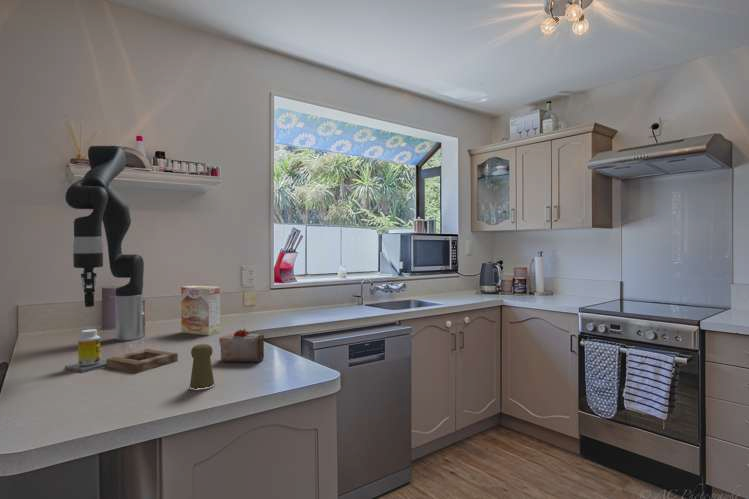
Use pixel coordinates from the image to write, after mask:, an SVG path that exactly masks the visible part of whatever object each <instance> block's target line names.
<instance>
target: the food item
mask: <svg viewBox="0 0 749 499" xmlns="http://www.w3.org/2000/svg"><path fill="white" fill-rule="evenodd" d="M218 342H219V346H220V362H221V363H260V362H262V361H261V360H262V359H263V358H264V359H265V351H264V350H265V346H264V345H265V344H264V343H265V336H264V334H261V333H249V331H247V330H246V328H244V329H239V330H238V329H237V331H235V333H230V334H223V335H221V336H220V337H219V340H218ZM264 359H263V360H264ZM259 361H260V362H259Z"/></svg>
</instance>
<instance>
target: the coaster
mask: <svg viewBox="0 0 749 499" xmlns="http://www.w3.org/2000/svg"><path fill="white" fill-rule="evenodd" d="M105 367H106V359H105V360H104V359H100V362H99V363H97V364H94V365H89V366H81V365H79V362H75V363H72V364H67V365H65V366H64V369H66V370H70V371H74V372H79V373H87V372H91V371H93V370H97V369H101V368H105ZM106 368H107V367H106ZM90 370H91V371H90ZM86 371H87V372H86Z"/></svg>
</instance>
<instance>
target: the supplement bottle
mask: <svg viewBox="0 0 749 499" xmlns="http://www.w3.org/2000/svg"><path fill="white" fill-rule="evenodd" d="M80 336H81V337H79V338H78V339H77V340H78V342H77V344H78V345H77V348H78V349H77V350H78V356H77V357H78V363H79V365H81V366H89V365H94V364H97V363H99V362H100V360H101V337H100V335H98V330H97V329H96V328H92V329H90V328H89V329H84V330H81V334H80Z"/></svg>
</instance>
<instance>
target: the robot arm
mask: <svg viewBox="0 0 749 499" xmlns="http://www.w3.org/2000/svg"><path fill="white" fill-rule="evenodd" d="M87 156H88V157H87V158H88V163H89V167H90V169H89V170H88V171H87V172H86V173H85V175H84V177H83V178H82V179H80V180H78V181H76V182H74V183H72V184H71V185H70V186H69V187H68V188H67V189H66V190H67V191H66V192H65V196H64V197H65V201H66V204H67V205H68V206H69V207H70V208H72V209H75V210H92V212H91V213H90V214H88V215H85V216H79V217H76V218H75V219H74V220H73V244H72V248H73V250H72V251H73V252H72V253H73V254H72V258H73V260H72V262H73V263H72V264H73V267H74V269H83V271H82V273H80V280H81V286H82V287H81V288H82V289H83V295H84V306H85V308H92V307H94V306H95V293H96V289H95V288H97V279H98V278H97V276H98V275H97V274H98V273H96V272H94V269H95V268H102V267H103V266H104V246H103V245H104V244H103V237H102V236H103V235H102V233H103V230H102V228H104V233H105V239H106V244H107V252H108V261H109V263H108V264H109V268H110V273H111V275H112V276H113V277H114V278H116V279H119V278H120V279H122V278H123V279H129V282H128V283H126V284H125V285H123V286H119V287H116V289H115V293H114V294H115V340H116V341H134V340H138V339H142V338H144V337H146V314H145V312H143V288H144V273H145V272H144V270H145V265H144V264H145V262H144V259H143V256H141V255H140V254H123V252H122V243H123V241H124V239H125V236H126V235H127V233H128V230H129V229H130V226H131V222H132V217H131V214H130V212H131V211H130V209H129V208H130V207H129V205H128V203H127V202H126V200H125V199H124V198H123V197H122V196H121V195H120V194H119V193H118V192H117V190H115V188H114V187H113V186H112V185H111V182H112V181H113V180H114V179H115V178H116V177H117V176H119V175H120V174H121V173H122V172H123V171H124V170H125V168H126V166H127V159H126V154H125V150H124V149H123V148H122V147H121V146H118V145H92V146H89V147H88V149H87ZM102 224H103V226H102Z"/></svg>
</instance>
